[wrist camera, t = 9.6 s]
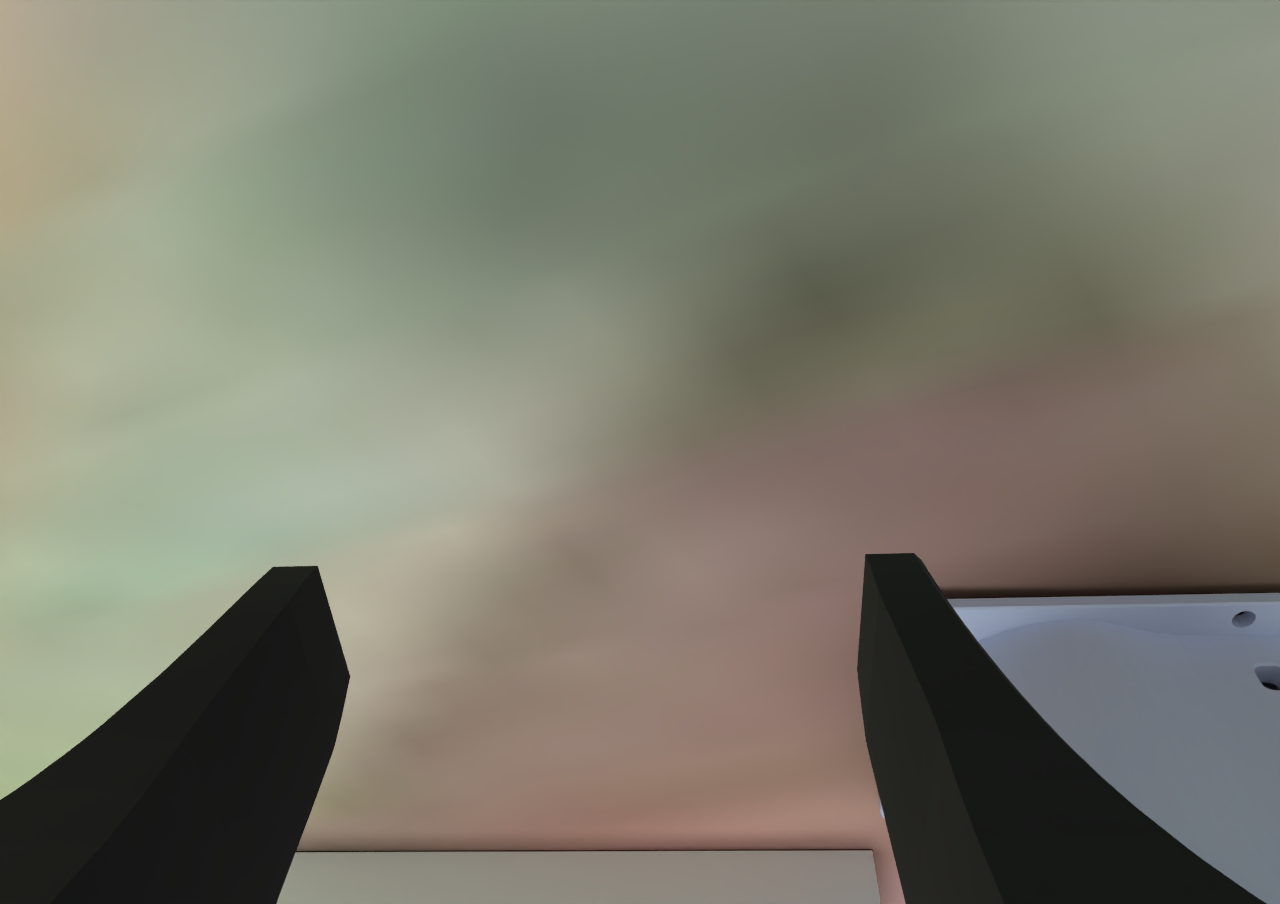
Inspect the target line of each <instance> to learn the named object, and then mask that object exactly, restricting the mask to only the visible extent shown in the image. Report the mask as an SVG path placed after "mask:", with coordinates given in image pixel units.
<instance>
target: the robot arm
mask: <svg viewBox="0 0 1280 904" xmlns="http://www.w3.org/2000/svg"><path fill="white" fill-rule="evenodd" d="M1244 611H1246V612H1245V613H1243V614H1241V615H1238V616H1235V615H1236V614H1238V613H1240V612H1244ZM857 671H858V680H859V688H860V697H861V705H862V713H863V721H864V728H865V736H866V742H867V747H868V751H869V755H870V759H871V764H872V768H873V772H874V776H875V780H876V784H877V788H878V792H879V806H880V811H881V816H882V817H883V818H884V819H885V821H886V825H887V829H888V833H889V837H890V841H891V845H892V849H893V853H894V857H895V861H896V865H897V869H898V873H899V878H900V882H901V886H902V890H903V894H904V898H905V903H906V904H1280V593H1244V594H1190V595H1136V596H1082V597H1029V598H975V599H947V598H946V597H945V596H944V594H943V593H942V591H941V590H940V588H939V587H938V585H937V584H936V582H935V581H934V579H933V578H932V576H931V575H930V573H929V572H928V570H927V568H926V567H925V565H924V563H923V562H922V560H921V559H920V558H918V557H917V556H916V555H915V554H914V553H900V554H866V555H865V569H864V582H863V596H862V610H861V624H860V638H859V652H858V665H857ZM349 679H350V675H349V671H348V668H347V664H346V661H345V658H344V654H343V651H342V647H341V644H340V641H339V637H338V634H337V630H336V627H335V624H334V620H333V617H332V613H331V610H330V607H329V603H328V600H327V596H326V593H325V590H324V586H323V583H322V579H321V576H320V573H319V569H318V566H295V567H273V568H271V569H270V570H269V571H268V572H267V573H266V574H265V575H264V576H263V577H262V578H261V579H259V580H258V581H257V582H256V583H255V584H254V585H253V586H252V587H251V588H250V589H249V590H248V591H247V592H246V593H245V594H244V595H243V596H242V597H241V598H240V599H239V600H238V601H237V602H236V603H235V604H234V605H233V606H232V607H231V608H229V609H228V610H227V611H226V612H225V613H224V614H223V615H222V616H221V617H220V618H219V619H218V620H217V621H216V622H215V623H214V624H213V625H212V626H211V627H210V628H209V629H208V630H207V631H206V632H205V633H204V634H203V635H202V636H201V637H199V638H198V639H197V640H196V641H195V642H194V643H193V644H192V645H191V646H190V647H189V648H188V649H187V650H186V651H185V652H184V653H183V654H182V655H180V656H179V657H178V658H177V659H176V660H175V661H174V662H173V663H172V664H171V665H170V666H169V667H168V668H167V669H166V670H165V671H163V672H162V673H161V674H160V675H159V676H158V677H157V678H156V679H154V680H153V681H152V682H151V683H150V684H149V685H147V686H146V687H145V688H144V689H143V690H142V691H141V692H139V693H138V694H137V695H136V696H135V697H134V698H133V699H131V700H130V701H129V702H128V703H127V704H126V705H124V706H123V707H122V708H121V709H120V710H119V711H118V712H116V713H115V714H114V715H113V716H112V717H111V718H109V719H108V720H107V721H106V722H105V723H104V724H103V725H101V726H100V727H99V728H98V729H96V730H95V731H94V732H93V733H91V734H90V735H89V736H88V737H87V738H85V739H84V740H83V741H81V742H80V743H79V744H78V745H76V746H75V747H74V748H72V749H71V750H70V751H69V752H67V753H66V754H65V755H63V756H62V757H61V758H59V759H58V760H56V761H55V762H54V763H52V764H51V765H50V766H48V767H47V768H46V769H44V770H43V771H42V772H40V773H39V774H37V775H36V776H35V777H33V778H32V779H31V780H29V781H28V782H26V783H25V784H24V785H22V786H21V787H19V788H18V789H16V790H15V791H13V792H12V793H10V794H9V795H7V796H6V797H4V798H3V799H1V800H0V904H277V901H278V898H279V895H280V892H281V890H282V887H283V884H284V882H285V879H286V876H287V874H288V871H289V868H290V866H291V863H292V860H293V858H294V855H295V852H296V850H297V847H298V844H299V842H300V839H301V836H302V834H303V831H304V828H305V826H306V823H307V820H308V818H309V815H310V812H311V810H312V807H313V804H314V802H315V799H316V796H317V793H318V791H319V788H320V785H321V782H322V780H323V777H324V774H325V771H326V769H327V766H328V763H329V760H330V758H331V755H332V752H333V749H334V746H335V742H336V738H337V734H338V730H339V725H340V721H341V717H342V713H343V708H344V703H345V698H346V694H347V689H348V684H349Z"/></svg>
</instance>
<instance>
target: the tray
mask: <svg viewBox="0 0 1280 904" xmlns="http://www.w3.org/2000/svg"><path fill="white" fill-rule="evenodd" d="M277 904H881V901H880V895H879V889H878V883H877V876H876V870H875V864H874V858H873V852H872V850H839V851H536V852H295V855H294V858H293V860H292V863H291V866H290V868H289V871H288V874H287V876H286V879H285V882H284V884H283V887H282V890H281V892H280V895H279V898H278V901H277Z"/></svg>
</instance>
